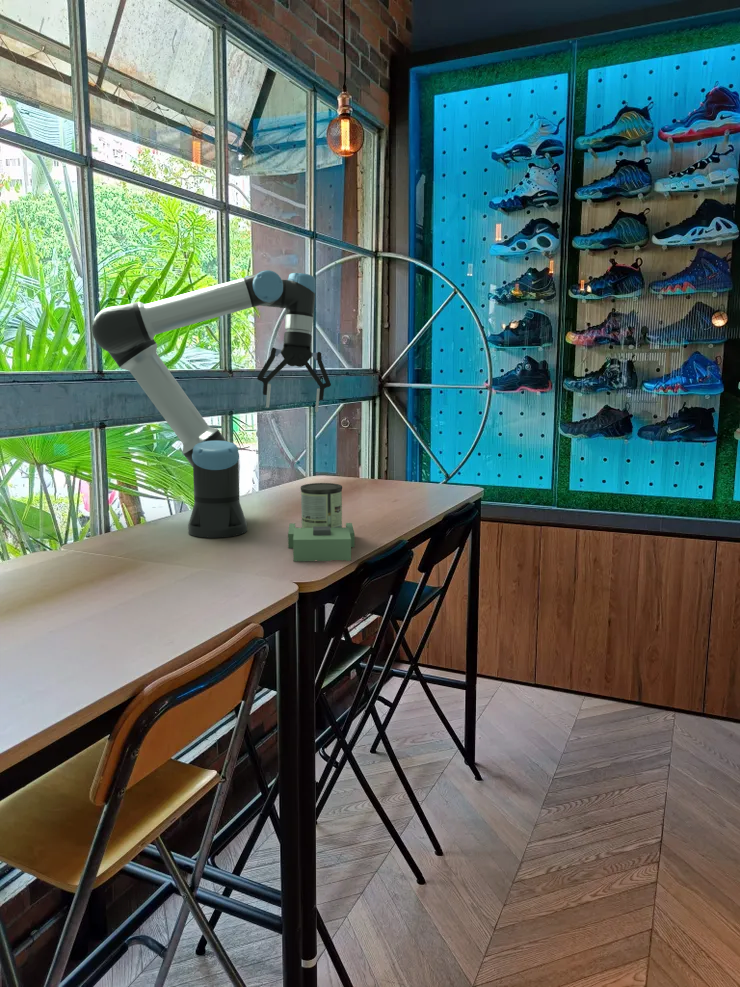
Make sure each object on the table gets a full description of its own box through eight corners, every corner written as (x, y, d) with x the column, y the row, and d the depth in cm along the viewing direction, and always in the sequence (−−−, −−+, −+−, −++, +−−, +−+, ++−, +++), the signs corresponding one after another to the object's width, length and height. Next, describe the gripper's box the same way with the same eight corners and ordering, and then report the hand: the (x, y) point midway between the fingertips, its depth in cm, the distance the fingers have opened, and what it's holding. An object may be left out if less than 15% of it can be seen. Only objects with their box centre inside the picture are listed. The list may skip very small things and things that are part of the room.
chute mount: (286, 561, 166) (286, 534, 165) (289, 536, 190) (289, 513, 189) (357, 560, 168) (357, 533, 167) (351, 536, 191) (351, 512, 190)
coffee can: (305, 536, 191) (304, 482, 188) (345, 537, 190) (345, 483, 187) (297, 545, 181) (296, 489, 178) (339, 547, 180) (339, 490, 177)
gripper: (343, 337, 208) (336, 413, 210) (253, 329, 206) (248, 405, 208) (343, 335, 200) (337, 414, 203) (251, 326, 198) (245, 405, 201)
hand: (292, 409), depth 205 cm, fingers open, 13 cm apart
